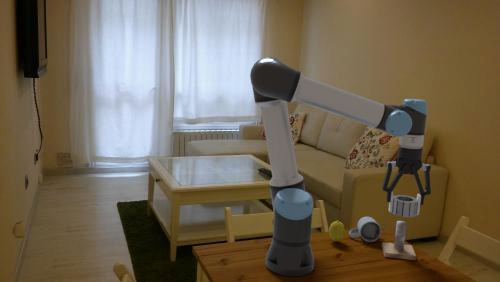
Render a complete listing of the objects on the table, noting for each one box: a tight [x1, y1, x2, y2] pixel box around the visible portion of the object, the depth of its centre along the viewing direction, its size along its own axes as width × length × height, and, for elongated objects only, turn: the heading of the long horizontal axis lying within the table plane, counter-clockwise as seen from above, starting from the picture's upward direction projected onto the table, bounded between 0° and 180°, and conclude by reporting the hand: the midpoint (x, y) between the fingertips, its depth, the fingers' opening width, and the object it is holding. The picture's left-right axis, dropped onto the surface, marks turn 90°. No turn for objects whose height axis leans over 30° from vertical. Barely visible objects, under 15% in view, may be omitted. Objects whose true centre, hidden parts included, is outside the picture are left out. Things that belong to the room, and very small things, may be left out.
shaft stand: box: [381, 220, 417, 261], centre depth 158 cm, size 10×9×11 cm
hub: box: [391, 194, 418, 218], centre depth 155 cm, size 8×8×5 cm
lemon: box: [328, 220, 346, 243], centre depth 165 cm, size 6×6×8 cm
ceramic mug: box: [348, 216, 382, 243], centre depth 170 cm, size 11×8×8 cm
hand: (403, 212), depth 156 cm, fingers closed on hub, 8 cm apart
